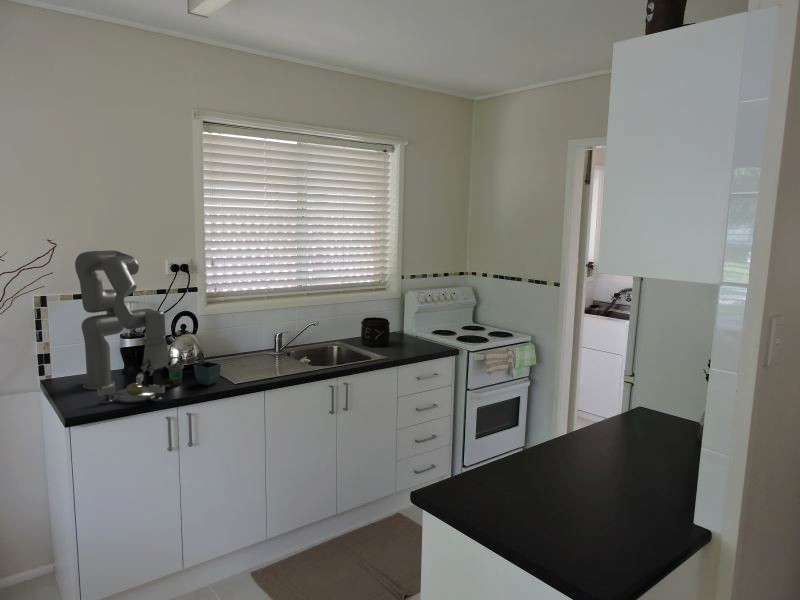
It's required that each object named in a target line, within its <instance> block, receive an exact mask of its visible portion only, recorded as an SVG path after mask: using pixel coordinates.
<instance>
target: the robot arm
mask: <svg viewBox="0 0 800 600" xmlns="http://www.w3.org/2000/svg"><path fill="white" fill-rule="evenodd" d="M139 267H140V265H139V262H138V260H137V259H136V258H135V257H134V256H132V255H130V254H127V253H123V252H121V251H119V250H118V251H117V250H90V251H85V252H82V253H79V254H78V255H77V256H76V258H75V260H74V268H75V272H76V276H77V278H78V281H79V285H80V293H81V301H82V307H83V310H84V311H85V312H87V313H89V314H91V313H92V314H95V313H103V312H106V314H100V315H99V314H98V315H93V316H88V317H86V318H85V319H83V320H82V322H81V331H82V336H83V340H84V349H85V350H84V351H85V366H86V367H85V370H86V371H85V372H86V374H83V375H82V376H81V377H80V380H81V381H84V383H83V385H82V388H83V389H85V390H91V391H95V390H96V391H97V388H98V387H101V388H102V387H108V386H113V385H114V386H116V381H115V380H113V379H112V373H111V372H112V371H111V348H110V344H109V342H108V341H107V340H106V338H105V337H109V336H113V335H118V334H120V333H122V332H123V330H124V328H125V329H126V330H136V329H143V328H145V329H144V330H145V346H144V349H143V350H144V351H143V364H142V365H141V366H140V369H141V371H142V372H143V376H145V385H146V386H147V385H148V386H149V385H153V384H155V383H154V375H153V373H154V372H155V371H156V370H158V369H161V368H163V369H162V372H161V379H162V380H163V379H169V369H170V365H171V364H172V359H173V357H172V356H169V351H168V345H167V344H168V343H167V341H166V337H167V335H166V318H165V317H166V316H165V312H163V310H162V311H161V310H154V309H151V308H140V309H135V310H129V308H128V305H127V304H126V298H127V297H128V296H129V295H131V294H132V293H133V294H134V292H135V290H137V284H136V282H135V279H134V278H133V276H134V275H136V274H137V273H138V272H139V269H140V268H139ZM98 271H103V272H104V274H105V276H106V277H107V279H108V281H109V283H110V284H111V287H112V288H113V289H110V288H109V289H104V288H103V287H104V286H103V281H102V278H101V277H100V275H99V274H98V273H97V272H98Z"/></svg>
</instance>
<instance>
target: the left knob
mask: <svg viewBox="0 0 800 600" xmlns="http://www.w3.org/2000/svg"><path fill="white" fill-rule="evenodd" d="M143 381H144V373H143V371H142V372H138V373H137V375H136V377H135V383H138V384H142V385H143V383H142V382H143Z"/></svg>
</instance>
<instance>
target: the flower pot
mask: <svg viewBox="0 0 800 600" xmlns="http://www.w3.org/2000/svg"><path fill="white" fill-rule="evenodd" d="M221 367H222V363H218V362H211V361H204V362H203V361H202V362H201V363H198V364H195V365H193V371H194V375H195V379H196V381H197V382H198V383H199V384H200V385H205V386H210V385H213V384H215V383H216V382H217V381H218V379H219V377H220V374H221Z"/></svg>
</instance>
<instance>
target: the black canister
mask: <svg viewBox="0 0 800 600" xmlns="http://www.w3.org/2000/svg"><path fill="white" fill-rule="evenodd" d="M360 323H361V329H360V337H361V338H360V342H361V344H362V345H363V346H364V347H366V348H367V347H368V348H384V347H387V346H389V343H390V331H391V330H390V324H391V322H390V321H389V319H387V318H385V317H378V316H377V317H374V316H373V317H365V318H363V319H362V321H361V322H360Z"/></svg>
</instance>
